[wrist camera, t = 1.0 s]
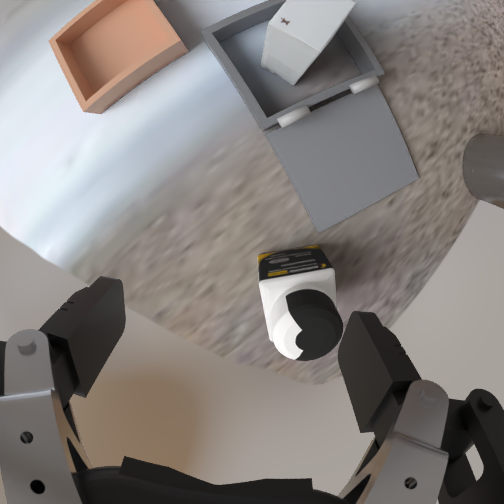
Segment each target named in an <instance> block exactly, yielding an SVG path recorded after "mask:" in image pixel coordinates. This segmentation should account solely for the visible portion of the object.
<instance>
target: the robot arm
mask: <svg viewBox="0 0 504 504" xmlns="http://www.w3.org/2000/svg"><path fill="white" fill-rule="evenodd" d="M463 174H464V179H465V182H466V185H467V187H468V189H469V191H470V192H471V193H472V195H473V196H475V197H476V198H477V199H480V200H483V201H486V202H488V203H491V204H493V205H496V206H498V207H501V208H503V209H504V136H497V135H486V134H480V135H477V136H475V137H473V138H472V139H471V140H470V142H469V143H468V145H467V147H466V150H465V153H464V158H463ZM125 321H126V317H125V306H124V293H123V284H122V281H121V280H120V279H114V278H109V277H104V276H100V277H99V278H98V279H97V280H96V281H95V282H94V283H93V284H92V285H91V286H90V287H89V288H88V287H86V288H84V289H81V290H79V291H77V292H75V293H74V294H73V295H72V296H71V297H70V298H69V299H68V300H67V302H65V303H64V304H63V305H62V306H61V307H60V309H58V310H57V311H56V312H55V313H54V314H53V315H52V316H51V318H50V319H48V321H47V322H46V323H45V324H44V325H43V326H42V327H41V328H40V329H39V330H33V329H28V330H23V331H20V332H17V333H16V334H14V335H13V336H11V338H9V340H8V341H7V342H4V341H0V468H1V474H2V480H3V485H4V490H5V494H6V498H7V503H8V504H436V501H437V498H438V501H439V504H504V410H503V409H502V407H501V405H500V403H499V401H498V400H497V399H496V397H495V396H494V395H493V394H491V393H490V392H488V391H486V390H483V389H474V390H473V391H471V392H470V394H469V395H468V397H467V398H466V400H465V401H463V400H455V399H449V398H448V395H447V394H446V392H445V391H444V389H442V387H440V386H439V385H437V384H436V383H434V382H432V381H429V380H422V379H421V377H420V375H419V374H418V372H417V370H416V369H415V367H414V365H413V363H412V362H411V360H410V358H409V357H408V355H406V352H405V350H404V349H403V347H401V344H400V342H399V340H398V339H397V337H396V336H395V335H394V334H393V333H392V332H391V331H390V330H388V329H387V328H386V327H383V325H382V324H381V322H380V321H379V319H378V317H377V316H376V314H375V313H373V312H360V311H354V312H353V313H352V314H351V316H350V318H349V321H348V324H347V327H346V329H345V332H344V335H343V338H342V340H341V343H340V346H339V350H338V363H339V366H340V369H341V372H342V375H343V378H344V381H345V384H346V387H347V390H348V393H349V397H350V400H351V403H352V406H353V410H354V413H355V416H356V420H357V423H358V426H359V430H360V433H365V432H374V434H375V437H374V439H373V440H372V442H371V443H370V445H369V447H368V449H367V451H366V453H365V455H364V456H363V458H362V460H361V462H360V463H359V465H358V467H357V469H356V470H355V472H354V474H353V475H352V477H351V479H350V480H349V482H348V483H347V485H346V486H345V487H344V489H343V490H342V491H341V492H340V493H339V495H338V496H335V495H332V494H330V493H327V492H323V491H320V490H315V489H313V487H312V479H311V478H307V479H262V480H256V481H249V482H242V483H234V484H225V485H214V484H211V483H208V482H205V481H202V480H200V479H197V478H194V477H192V476H189V475H187V474H184V473H182V472H179V471H177V470H174V469H172V468H170V467H166V466H161V465H157V464H153V463H148V462H145V461H141V460H137V459H133V458H129V457H126V456H124V459H123V462H122V465H121V466H104V467H96V468H93V466H92V464H91V462H90V460H89V458H88V456H87V454H86V451H85V449H84V445H83V443H82V439H81V436H80V433H79V430H78V427H77V424H76V420H75V416H74V413H73V409H72V405H71V403H70V398H71V397H72V395H73V394H76V395H79V396H82V397H84V398H86V396H87V394H88V392H89V391H90V389H91V387H92V385H93V384H94V382H95V380H96V378H97V376H98V375H99V373H100V371H101V369H102V368H103V366H104V364H105V363H106V361H107V359H108V357H109V356H110V354H111V352H112V351H113V349H114V347H115V345H116V344H117V342H118V341H119V339H120V337H121V336H122V333H123V332H124V328H125ZM474 444H475V446H476V448H477V451H478V453H479V455H480V457H481V460H482V462H483V465H484V470H483V474H482V476H481V477H480V479H479V480H477V481H476V479H475V476H474V474H473V471H472V469H471V467H470V464H469V461H468V459H467V456H466V454H465V453H466V452H467V451H468V450H469V449H470V448H471V447H472V446H473V445H474Z"/></svg>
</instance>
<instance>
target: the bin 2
mask: <svg viewBox="0 0 504 504" xmlns="http://www.w3.org/2000/svg"><path fill="white" fill-rule="evenodd" d="M285 2H286V0H268V1H265V2H263V3H260V4H258V5H255V6H253V7H250V8H248V9H246V10H243V11H241V12H239V13H237V14H234V15H232V16H230V17H228V18H226V19H224V20H222V21H220V22H218V23H216V24H214V25H212V26H210V27H208V28H206V29H204V30H202V31H200V32H201V34H202V36H203V38H204V40H205V43H206V44H207V45H208V47H209V48H210V50H211V51H212V53H213V54H214V56H215V57H216V59H217V60H218V62H219V63H220V65H221V66H222V68H223V69H224V71H225V72H226V74H227V75H228V77H229V78H230V80H231V81H232V83H233V85H234V86H235V88H236V89H237V91H238V92H239V94H240V96H241V97H242V99H243V100H244V102H245V104H246V105H247V107H248V108H249V110H250V112H251V113H252V115H253V117H254V118H255V120H256V122H257V123H258V125H259V127H260V128H261V130H262V131H264V130H266V129H268V128H270V127H271V126H273V125H275V124H277V123H279V125H280V126H281V127H280V128H278V129H276V130H274V131H272V132H270V133H268V134H266V135H265V137H266V138H267V140H268V142H269V144H270V145H271V147H272V149H273V150H274V152H275V154H276V156H277V157H278V159H279V161H280V163H281V165H282V166H283V168H284V170H285V172H286V173H287V175H288V177H289V179H290V181H291V183H292V184H293V186H294V188H295V190H296V192H297V194H298V196H299V197H300V199H301V201H302V203H303V205H304V207H305V209H306V211H307V213H308V214H309V216H310V218H311V220H312V222H313V224H314V226H315V228H316V230H317V232H318V233H320V232H322V231H324V230H326V229H328V228H330V227H331V226H333V225H335V224H337V223H339V222H341V221H342V220H344V219H346V218H348V217H350V216H352V215H353V214H355V213H357V212H359V211H361V210H363V209H364V208H366V207H368V206H370V205H372V204H374V203H375V202H377V201H379V200H381V199H383V198H384V197H386V196H388V195H390V194H392V193H393V192H395V191H397V190H399V189H401V188H402V187H404V186H406V185H408V184H410V183H411V182H413V181H415V180H417V179H419V177H418V174H417V172H416V169H415V166H414V164H413V161H412V159H411V156H410V153H409V151H408V148H407V146H406V144H405V141H404V139H403V137H402V134H401V132H400V130H399V127H398V125H397V123H396V121H395V119H394V117H393V115H392V112H391V110H390V108H389V106H388V104H387V102H386V100H385V98H384V96H383V94H382V92H381V91H380V89H379V87H378V85H377V84H379V79H378V77H379V76H382V75H384V74H385V73H384V71H383V69H382V67H381V65H380V64H379V62H378V60H377V59H376V57H375V55H374V54H373V52H372V50H371V49H370V47H369V45H368V44H367V42H366V41H365V39H364V38H363V36H362V34H361V33H360V31H359V30H358V28H357V27H356V25H355V24H354V23H353V21H352V20H351V18H350V17H349V15H348V17H347V18H346V19H345V21H344V22H343V24H342V25H341V26H340V28H339V29H338V31H337V32H336V33H337V35H338V36H339V38H340V39H341V41H342V42H343V44H344V45H345V47H346V48H347V50H348V51H349V53H350V55H351V56H352V58H353V59H354V61H355V63H356V64H357V66H358V68H359V70H360V71H361V73H362V75H359V76H357V77H355V78H352V79H350V80H347V81H345V82H342V83H340V84H338V85H335V86H333V87H331V88H329V89H326V90H324V91H322V92H320V93H317V94H315V95H313V96H311V97H309V98H307V99H305V100H302V101H300V102H298V103H296V104H294V105H292V106H290V107H288V108H286V109H284V110H282V111H280V112H278V113H276V114H274V115H272V116H270V117H268V118H267V117H266V115H265V114H264V112H263V110H262V109H261V107H260V105H259V104H258V102H257V101H256V99H255V97H254V96H253V94H252V93H251V91H250V89H249V88H248V86H247V85H246V83H245V82H244V80H243V78H242V77H241V75H240V74H239V72H238V71H237V69H236V68H235V66H234V65H233V63H232V62H231V60H230V59H229V57H228V56H227V54H226V53H225V51H224V50H223V48H222V47H221V46H220V44H219V42H221V41H223V40H225V39H227V38H229V37H231V36H233V35H235V34H237V33H239V32H241V31H243V30H245V29H248V28H250V27H252V26H254V25H257V24H259V23H261V22H264V21H266V20H269V19H271V18H273V16H274V15H275V14H276V13H277V11H278V10H279V9H280V8H281V7H282V5H283V4H284V3H285ZM349 89H350V90H351V92H352V93H351V94H349V95H346V96H344V97H342V98H340V99H337V100H335V101H333V102H331V103H329V104H326V105H324V106H322V107H320V108H318V109H316V110H314V111H312V112H310V110H309V107H311V106H313V105H316V104H318V103H320V102H322V101H324V100H326V99H328V98H331V97H333V96H335V95H337V94H340V93H342V92H344V91H347V90H349Z"/></svg>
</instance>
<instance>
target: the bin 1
mask: <svg viewBox="0 0 504 504" xmlns="http://www.w3.org/2000/svg"><path fill="white" fill-rule="evenodd" d="M49 43H50V45H51V47H52V49H53V52H54V54H55V56H56V58H57V60H58V62H59V64H60V67H61V69H62V71H63V73H64V75H65V77H66V79H67V81H68V83H69V85H70V87H71V89H72V91H73V93H74V95H75V97H76V99H77V101H78V103H79V104H80V106H81V108H82V110H83V112H89V113H96V114H102V113H103V112H104V111H105V110H106V109H108V108H109V107H110V106H111V105H113V104H114V103H115V102H116V101H118V100H119V99H120V98H121V97H123V96H124V95H125V94H127V93H128V92H129V91H131V90H132V89H133V88H135V87H136V86H137V85H139V84H140V83H142V82H143V81H144V80H146V79H147V78H149V77H150V76H152V75H153V74H155V73H156V72H158V71H159V70H161V69H162V68H164V67H165V66H167V65H168V64H170V63H171V62H173V61H175V60H176V59H178V58H180V57H181V56H183V55H185V54H186V53H188V52H189V51H188V49H187V48H186V46H185V45H184V43H183V42H182V40H181V39H180V38H179V36H178V35H177V33H176V32H175V30H174V29H173V27H172V26H171V25H170V23H169V22H168V20H167V19H166V17H165V16H164V15H163V13H162V12H161V10H160V9H159V8H158V6H157V5H156V4H155V2H154V1H153V0H96V1H94V2H93V3H92V4H90V5H89V6H88V7H87V8H85V9H84V10H83V11H82V12H80V13H79V14H78V15H77V16H76V17H74V18H73V19H72V20H71V21H70V22H69V23H67V24H66V25H65V26H64V27H63V28H62V29H61V30H60V31H59V32H57V33H56V34H55V35H54V36H53V37H52V38H51V39H50V40H49Z"/></svg>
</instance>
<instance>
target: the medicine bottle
mask: <svg viewBox="0 0 504 504" xmlns="http://www.w3.org/2000/svg"><path fill="white" fill-rule="evenodd" d="M257 260H258V276H259V287H260V292H261V297H262V302H263V307H264V313H265V318H266V323H267V328H268V333H269V338H270V340H271V341H273V342H274V344H275V346H276V348H277V349H278V351H279V352H280V353H281V354H283V355H284V356H286V357H288V358H291V359H294V360H299V361H309V360H314V359H317V358H320V357H322V356H324V355H326V354H327V353H329V352H330V351H331V350H332V349H333V348H334V347H335V346H336V345H337V344H338V342H339V341H340V339H341V336H342V333H343V322H342V319H341V317H340V315H339V313H338V311H337V302H336V284H335V271H334V268H333V267H332V265H331V264H330V262H329V261H328V259H327V257H326V256H325V254H324V253H323V251H322V250H321V248H320V246H318V245H313V246H307V247H301V248H295V249H290V250H284V251H278V252H272V253H267V254H261V255H259V256H258V257H257Z"/></svg>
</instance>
